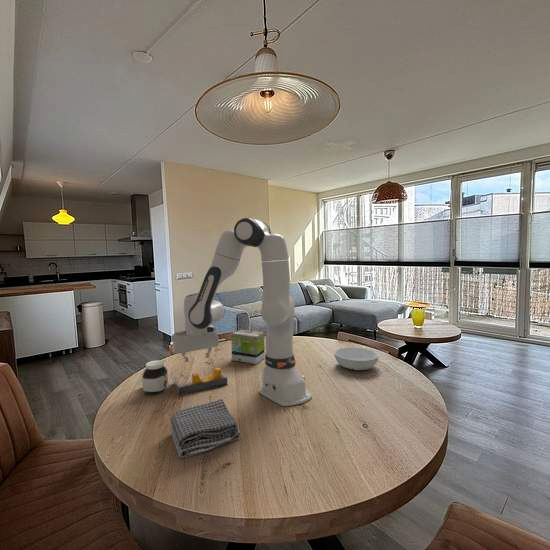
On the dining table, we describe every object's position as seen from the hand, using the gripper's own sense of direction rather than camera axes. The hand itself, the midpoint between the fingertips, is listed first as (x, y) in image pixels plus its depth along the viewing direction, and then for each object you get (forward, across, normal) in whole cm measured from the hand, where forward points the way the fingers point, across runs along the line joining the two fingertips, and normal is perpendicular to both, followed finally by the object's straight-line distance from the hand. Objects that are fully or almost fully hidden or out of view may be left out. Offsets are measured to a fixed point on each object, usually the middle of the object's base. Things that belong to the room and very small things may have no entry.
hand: (197, 359), depth 134 cm
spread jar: (+8, -19, -2) cm, 21 cm away
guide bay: (+9, -1, -6) cm, 11 cm away
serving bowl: (+11, +71, -25) cm, 76 cm away
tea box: (+9, +29, +11) cm, 32 cm away
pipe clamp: (+9, +1, -9) cm, 13 cm away
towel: (+10, -9, -45) cm, 47 cm away
